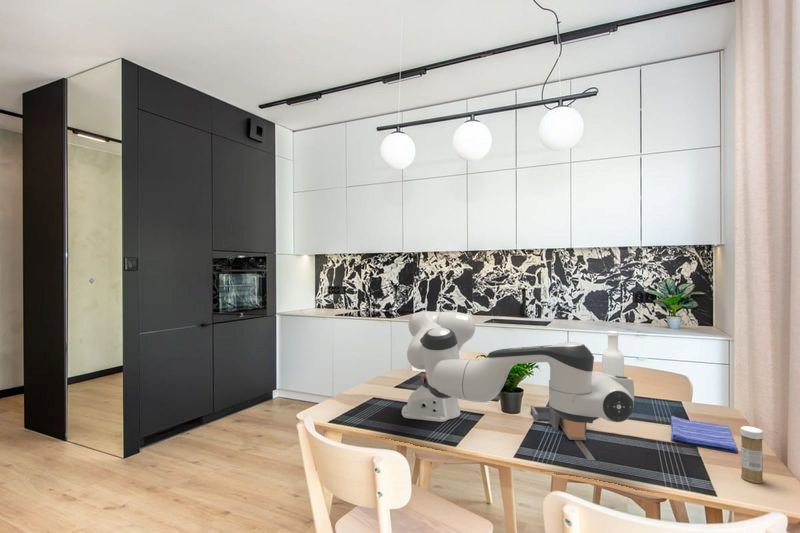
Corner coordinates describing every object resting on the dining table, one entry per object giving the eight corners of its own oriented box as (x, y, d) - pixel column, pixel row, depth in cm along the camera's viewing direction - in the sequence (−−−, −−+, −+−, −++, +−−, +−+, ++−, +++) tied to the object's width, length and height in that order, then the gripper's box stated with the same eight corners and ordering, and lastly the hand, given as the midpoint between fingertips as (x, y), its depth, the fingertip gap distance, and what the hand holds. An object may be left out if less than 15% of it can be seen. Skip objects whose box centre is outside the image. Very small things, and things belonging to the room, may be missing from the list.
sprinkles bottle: (762, 479, 112) (762, 428, 112) (763, 486, 109) (763, 433, 109) (740, 473, 115) (740, 424, 115) (740, 480, 111) (740, 429, 111)
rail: (588, 460, 123) (588, 459, 123) (561, 422, 153) (561, 421, 153) (595, 460, 123) (595, 460, 123) (567, 422, 153) (567, 421, 153)
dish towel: (670, 443, 136) (670, 435, 136) (670, 420, 156) (670, 413, 156) (739, 456, 126) (739, 447, 126) (729, 430, 147) (729, 421, 147)
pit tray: (535, 420, 155) (535, 414, 155) (530, 412, 164) (530, 406, 164) (592, 422, 152) (592, 416, 152) (584, 414, 161) (584, 407, 161)
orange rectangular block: (569, 439, 137) (569, 408, 137) (558, 423, 151) (557, 394, 151) (586, 440, 137) (585, 408, 137) (573, 423, 151) (573, 395, 151)
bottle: (617, 411, 164) (617, 333, 164) (598, 405, 171) (598, 331, 171) (628, 406, 169) (627, 331, 169) (608, 401, 176) (608, 329, 175)
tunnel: (554, 430, 146) (554, 386, 146) (549, 421, 154) (549, 379, 154) (586, 431, 144) (586, 387, 144) (579, 422, 152) (579, 380, 152)
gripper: (556, 400, 113) (547, 387, 126) (640, 403, 109) (621, 390, 123) (556, 376, 113) (547, 366, 127) (639, 378, 109) (621, 368, 123)
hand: (584, 378), depth 125 cm, fingers open, 8 cm apart
